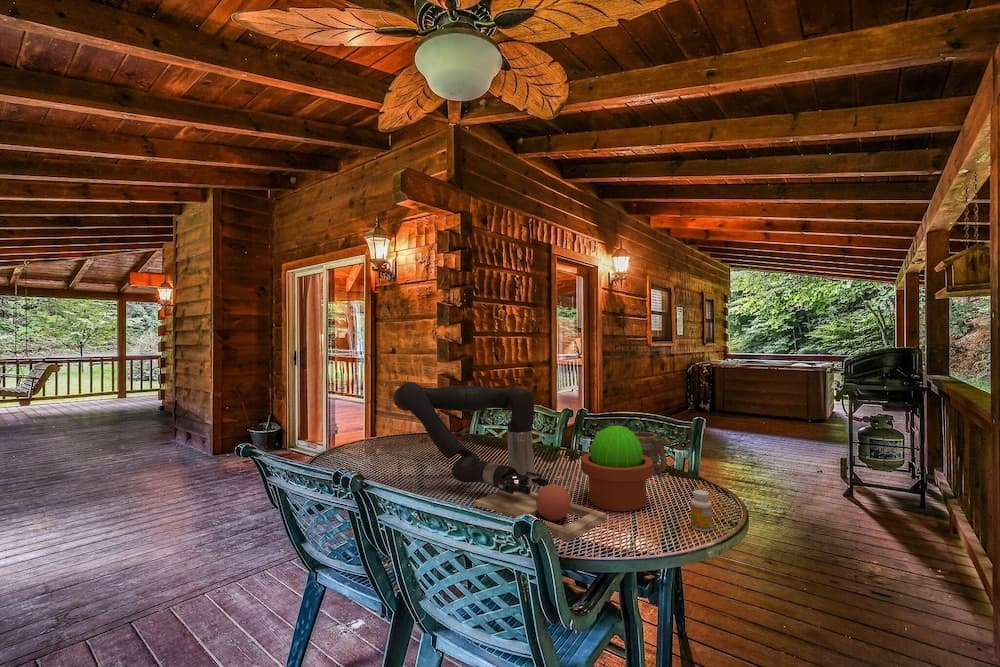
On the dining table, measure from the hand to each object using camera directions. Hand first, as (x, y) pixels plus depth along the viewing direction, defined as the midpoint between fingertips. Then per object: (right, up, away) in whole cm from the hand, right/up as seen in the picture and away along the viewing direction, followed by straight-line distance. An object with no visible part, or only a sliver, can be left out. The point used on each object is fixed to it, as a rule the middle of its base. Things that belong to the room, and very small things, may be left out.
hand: (538, 487), depth 138 cm
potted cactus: (+26, -8, +9) cm, 28 cm away
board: (0, -8, +1) cm, 8 cm away
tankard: (+46, -7, +38) cm, 60 cm away
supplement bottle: (+44, -8, -11) cm, 46 cm away
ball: (+4, -3, -4) cm, 6 cm away
